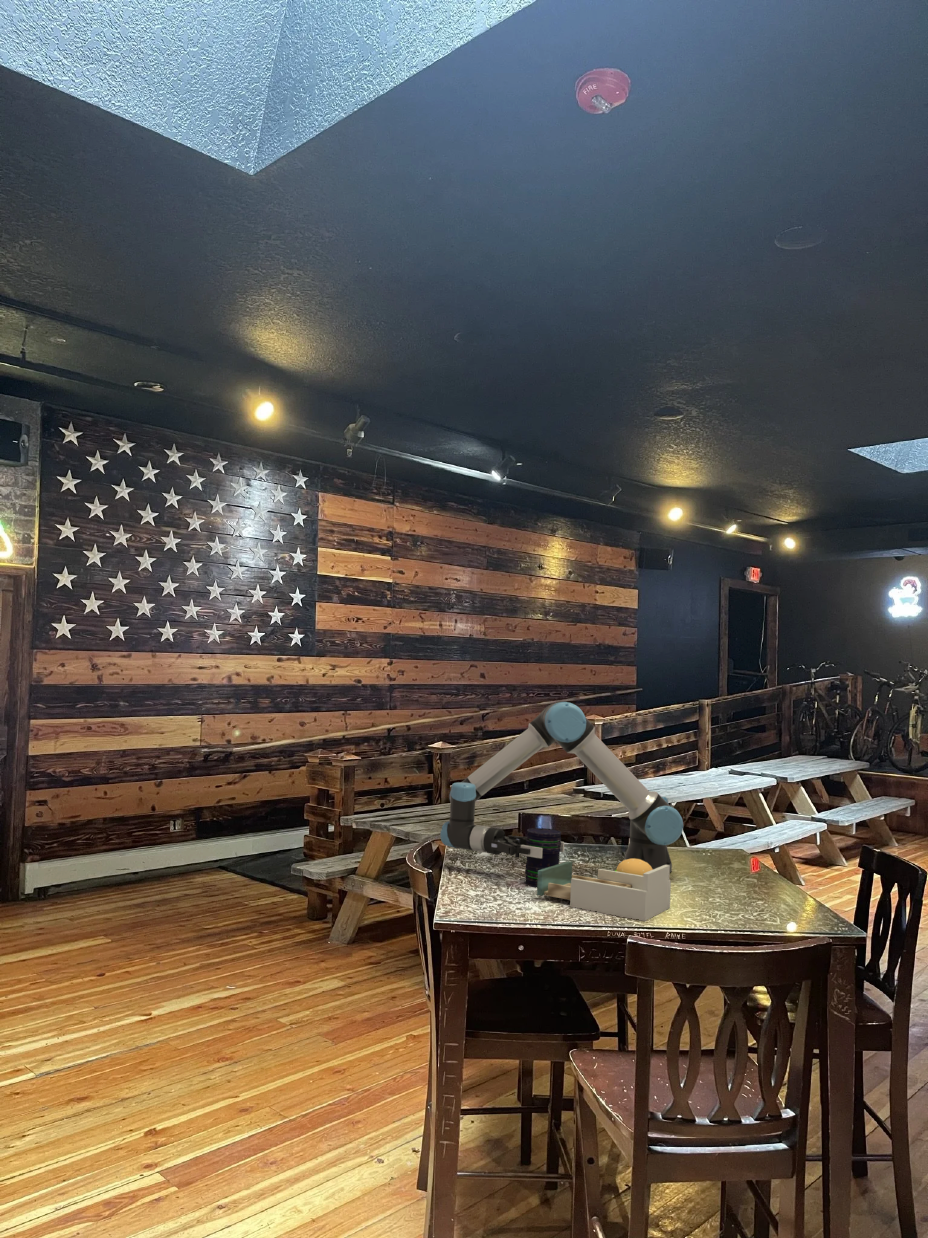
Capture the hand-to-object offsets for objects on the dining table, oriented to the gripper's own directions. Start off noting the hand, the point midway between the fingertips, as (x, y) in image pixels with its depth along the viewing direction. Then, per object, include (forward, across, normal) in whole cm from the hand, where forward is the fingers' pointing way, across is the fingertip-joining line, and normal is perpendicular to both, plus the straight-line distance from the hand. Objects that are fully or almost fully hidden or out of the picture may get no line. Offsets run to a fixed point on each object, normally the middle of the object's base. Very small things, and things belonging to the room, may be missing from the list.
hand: (553, 850), depth 246 cm
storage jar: (-3, 0, -10) cm, 11 cm away
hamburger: (+20, -13, -10) cm, 25 cm away
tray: (+15, +9, -9) cm, 19 cm away
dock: (+24, +9, -10) cm, 28 cm away
